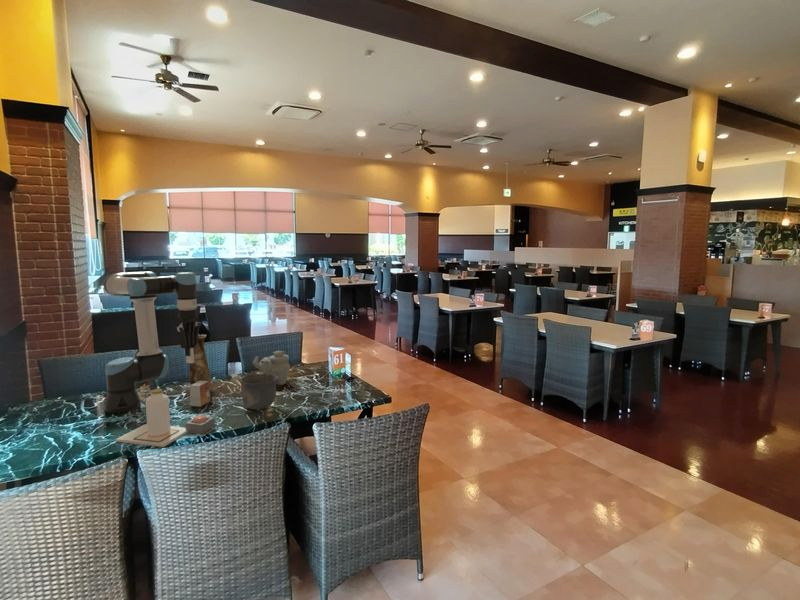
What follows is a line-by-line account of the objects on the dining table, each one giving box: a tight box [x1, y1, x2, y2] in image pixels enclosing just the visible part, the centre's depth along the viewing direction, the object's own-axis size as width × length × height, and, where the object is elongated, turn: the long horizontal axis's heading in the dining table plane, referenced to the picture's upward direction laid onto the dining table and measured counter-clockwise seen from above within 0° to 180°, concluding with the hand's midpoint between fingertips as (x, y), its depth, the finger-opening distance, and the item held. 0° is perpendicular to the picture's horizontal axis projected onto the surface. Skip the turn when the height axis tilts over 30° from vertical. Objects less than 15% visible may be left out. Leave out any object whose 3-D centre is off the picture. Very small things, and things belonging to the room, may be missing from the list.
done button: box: [192, 414, 207, 423], centre depth 191 cm, size 5×5×4 cm
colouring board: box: [115, 423, 188, 448], centre depth 184 cm, size 22×16×1 cm
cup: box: [239, 372, 278, 410], centre depth 214 cm, size 18×18×15 cm
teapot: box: [252, 350, 291, 386], centre depth 253 cm, size 16×15×19 cm
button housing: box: [184, 416, 215, 435], centre depth 191 cm, size 8×8×4 cm
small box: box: [189, 381, 211, 407], centre depth 221 cm, size 8×6×10 cm
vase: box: [188, 333, 211, 386], centre depth 239 cm, size 10×11×30 cm
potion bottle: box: [145, 388, 171, 436], centre depth 183 cm, size 8×8×18 cm
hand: (190, 362), depth 195 cm, fingers closed
